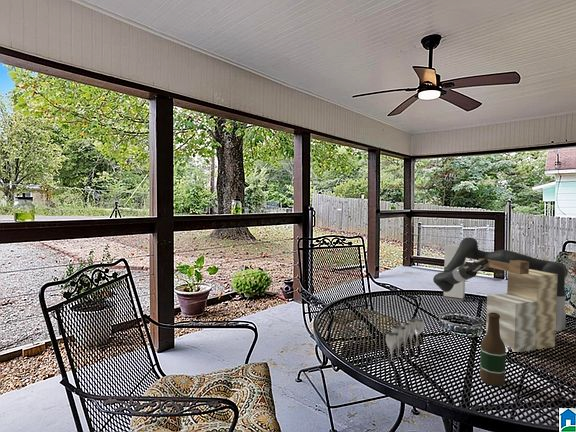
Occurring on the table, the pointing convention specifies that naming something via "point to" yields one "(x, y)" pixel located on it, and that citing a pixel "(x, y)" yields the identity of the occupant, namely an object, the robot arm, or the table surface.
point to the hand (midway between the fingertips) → (490, 260)
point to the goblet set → (404, 333)
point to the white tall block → (459, 288)
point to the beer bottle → (493, 354)
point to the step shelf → (526, 310)
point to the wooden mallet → (509, 266)
